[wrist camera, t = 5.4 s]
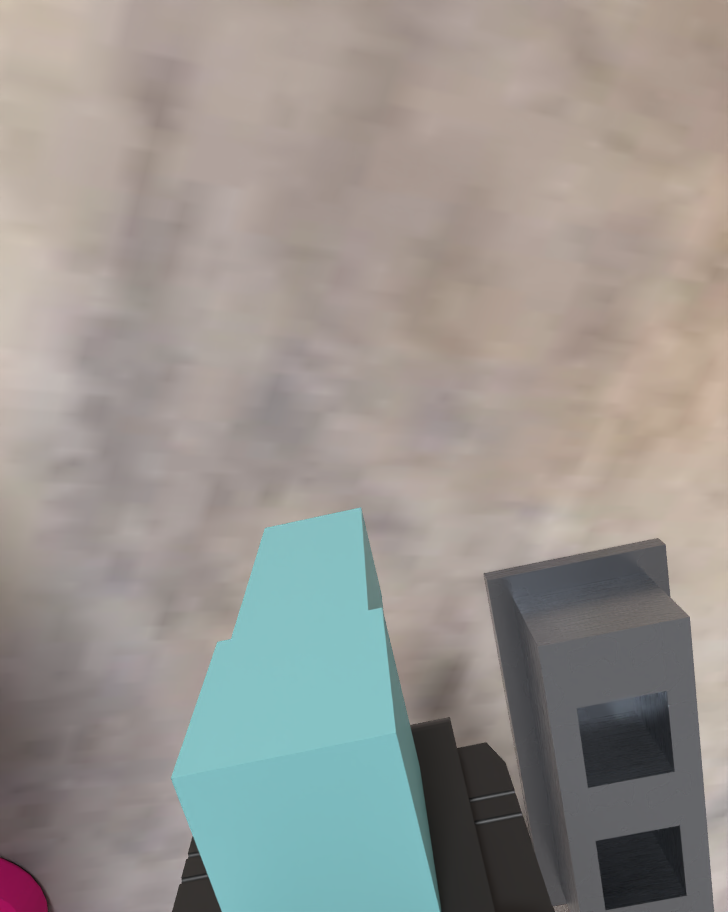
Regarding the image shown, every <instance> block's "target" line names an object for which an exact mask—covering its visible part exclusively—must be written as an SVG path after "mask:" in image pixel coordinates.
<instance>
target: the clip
mask: <svg viewBox="0 0 728 912" xmlns="http://www.w3.org/2000/svg"><path fill="white" fill-rule="evenodd" d="M171 780H172V782H173V785H174V788H175V790H176V793H177V795H178V798H179V801H180V803H181V806H182V808H183V811H184V814H185V816H186V819H187V822H188V824H189V827H190V829H191V832H192V835H193V837H194V840H195V843H196V845H197V848H198V850H199V853H200V856H201V858H202V861H203V864H204V866H205V869H206V871H207V874H208V877H209V879H210V882H211V884H212V887H213V890H214V892H215V895H216V898H217V900H218V903H219V905H220V908H221V911H222V912H442V911H441V905H440V898H439V891H438V885H437V878H436V871H435V865H434V858H433V851H432V845H431V838H430V832H429V825H428V818H427V812H426V805H425V798H424V792H423V785H422V778H421V772H420V766H419V761H418V757H417V753H416V749H415V744H414V740H413V736H412V732H411V728H410V723H409V719H408V715H407V711H406V706H405V702H404V698H403V694H402V690H401V685H400V681H399V677H398V673H397V668H396V664H395V660H394V656H393V652H392V647H391V643H390V639H389V635H388V630H387V626H386V622H385V618H384V613H383V604H382V595H381V590H380V586H379V582H378V577H377V573H376V569H375V565H374V560H373V556H372V552H371V548H370V543H369V539H368V535H367V531H366V526H365V522H364V518H363V514H362V509H361V508H356V509H352V510H347V511H342V512H338V513H333V514H328V515H324V516H319V517H314V518H310V519H305V520H300V521H296V522H291V523H287V524H282V525H277V526H273V527H268V528H265V530H264V533H263V536H262V540H261V543H260V546H259V549H258V553H257V556H256V559H255V563H254V566H253V569H252V572H251V576H250V579H249V582H248V585H247V589H246V592H245V595H244V598H243V602H242V605H241V608H240V612H239V615H238V618H237V621H236V625H235V628H234V631H233V634H232V638H231V639H229V640H225V641H220V642H217V645H216V648H215V651H214V654H213V656H212V659H211V662H210V665H209V668H208V671H207V674H206V677H205V680H204V683H203V686H202V689H201V692H200V695H199V698H198V701H197V703H196V706H195V709H194V712H193V715H192V718H191V721H190V724H189V727H188V730H187V733H186V736H185V739H184V742H183V745H182V748H181V750H180V753H179V756H178V759H177V762H176V765H175V768H174V771H173V774H172V777H171Z"/></svg>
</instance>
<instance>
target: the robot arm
mask: <svg viewBox="0 0 728 912" xmlns="http://www.w3.org/2000/svg"><path fill="white" fill-rule="evenodd" d="M410 728H411V732H412V736H413V740H414V744H415V749H416V753H417V757H418V761H419V766H420V772H421V778H422V785H423V792H424V798H425V805H426V812H427V818H428V825H429V832H430V838H431V845H432V851H433V858H434V865H435V871H436V878H437V885H438V891H439V898H440V905H441V911H442V912H555V911H554V909H553V906H552V904H551V901H550V897H549V894H548V891H547V888H546V885H545V882H544V879H543V876H542V873H541V870H540V867H539V864H538V861H537V858H536V855H535V852H534V848H533V845H532V842H531V839H530V836H529V833H528V830H527V827H526V824H525V821H524V818H523V816H522V812H521V809H520V806H519V803H518V799H517V796H516V794H515V791H514V787H513V784H512V781H511V778H510V775H509V772H508V769H507V766H506V763H505V762H504V761H503V760H502V758H501V757H500V756H499V755H498V754H497V753H496V752H495V751H494V750H493V749H492V748H491V747H490V746H489V745H488V744H487V743H481V744H476V745H471V746H466V747H461V748H457V747H456V742H455V738H454V734H453V729H452V725H451V721H450V717H448V718H443V719H438V720H433V721H428V722H423V723H418V724H413V725H410ZM188 856H189V857H188V859H186V863H185V866H184V870H183V874H182V877H181V878H182V884H180V885H179V888H178V892H177V896H176V899H175V903H174V907H173V910H172V912H222V911H221V908H220V905H219V903H218V900H217V898H216V895H215V892H214V890H213V887H212V884H211V882H210V879H209V877H208V874H207V871H206V869H205V866H204V864H203V861H202V858H201V856H200V853H199V850H198V848H197V845H196V843H195V840H194V837H192V841H191V845H190V848H189V852H188Z"/></svg>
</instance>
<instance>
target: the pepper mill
mask: <svg viewBox="0 0 728 912" xmlns="http://www.w3.org/2000/svg"><path fill="white" fill-rule="evenodd" d="M0 912H48V908H47V901H46V898H45V896H44V894H43V892H42V889H41V887H40V886H39V885H38V884H37V882H36V881H35V880H34V879H33V878H32V877H31V875H30V874H28V873H27V872H26V871H24V870H23V869H21V868H20V867H19V866H17V865H15V864H13V863H11V862H9V861H7V860H5V859H3V858H0Z"/></svg>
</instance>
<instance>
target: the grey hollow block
mask: <svg viewBox="0 0 728 912" xmlns="http://www.w3.org/2000/svg"><path fill="white" fill-rule="evenodd" d="M484 578H485V584H486V589H487V595H488V601H489V606H490V612H491V617H492V623H493V629H494V634H495V640H496V646H497V651H498V657H499V662H500V668H501V674H502V679H503V685H504V691H505V696H506V702H507V707H508V713H509V719H510V724H511V730H512V735H513V741H514V747H515V752H516V758H517V764H518V769H519V775H520V780H521V786H522V792H523V797H524V803H525V809H526V814H527V820H528V825H529V831H530V837H531V842H532V845H533V848H534V852H535V855H536V858H537V861H538V864H539V867H540V870H541V873H542V876H543V879H544V882H545V885H546V888H547V891H548V894H549V897H550V901H551V904H552V906H557V905H562V904H567V906H568V909H569V911H570V912H714V905H713V893H712V881H711V869H710V857H709V845H708V833H707V820H706V808H705V796H704V784H703V772H702V760H701V748H700V736H699V723H698V711H697V699H696V687H695V675H694V663H693V651H692V638H691V626H690V617H689V616H688V615H687V614H686V613H685V612H684V611H683V610H682V609H681V608H680V607H679V606H678V605H677V604H676V603H675V602H674V601H673V600H672V599H671V598H670V589H669V578H668V567H667V556H666V545H665V544H664V543H663V542H662V541H661V540H660V539H658V538H657V539H652V540H647V541H642V542H637V543H632V544H628V545H623V546H618V547H613V548H608V549H603V550H598V551H593V552H588V553H583V554H578V555H573V556H568V557H563V558H558V559H553V560H548V561H543V562H539V563H534V564H529V565H524V566H519V567H514V568H509V569H504V570H499V571H494V572H489V573H484Z"/></svg>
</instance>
